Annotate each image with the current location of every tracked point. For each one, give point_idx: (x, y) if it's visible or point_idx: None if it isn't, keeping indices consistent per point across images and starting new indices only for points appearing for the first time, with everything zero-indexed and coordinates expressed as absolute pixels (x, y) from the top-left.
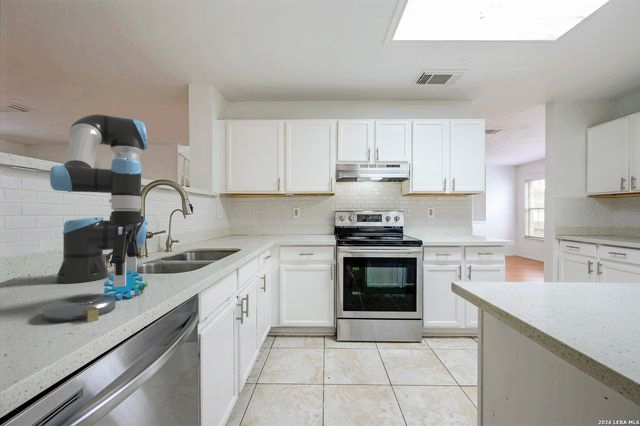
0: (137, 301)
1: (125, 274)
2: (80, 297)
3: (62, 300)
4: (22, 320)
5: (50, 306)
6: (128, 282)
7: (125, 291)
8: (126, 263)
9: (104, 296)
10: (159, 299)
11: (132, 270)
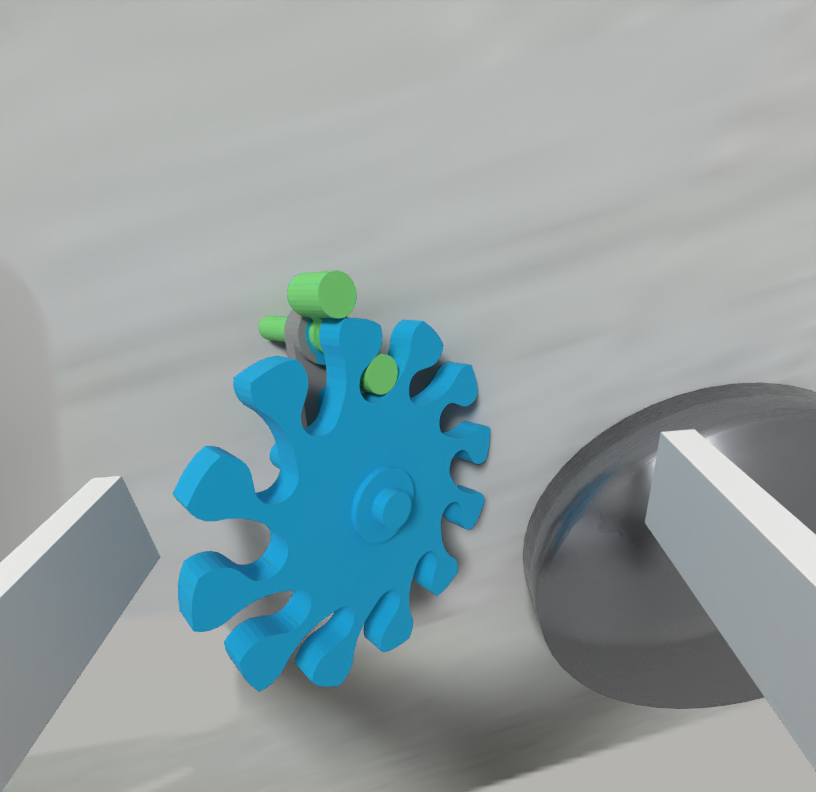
0: (576, 275)
1: (804, 533)
2: (584, 638)
3: (619, 687)
4: None
5: (740, 685)
6: (364, 476)
7: (441, 435)
8: (19, 756)
9: (634, 520)
10: (593, 47)
11: (74, 580)
